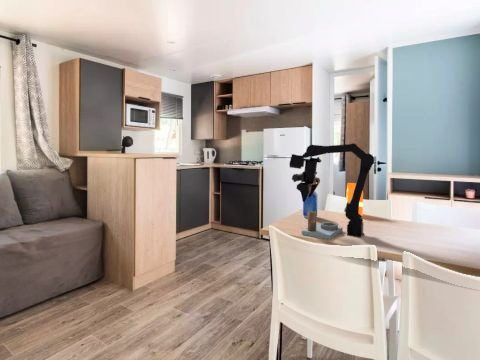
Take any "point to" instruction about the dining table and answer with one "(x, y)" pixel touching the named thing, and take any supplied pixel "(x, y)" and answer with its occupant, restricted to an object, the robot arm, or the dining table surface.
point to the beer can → (310, 204)
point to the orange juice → (350, 193)
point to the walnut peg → (312, 221)
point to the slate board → (324, 230)
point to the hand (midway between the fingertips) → (306, 199)
